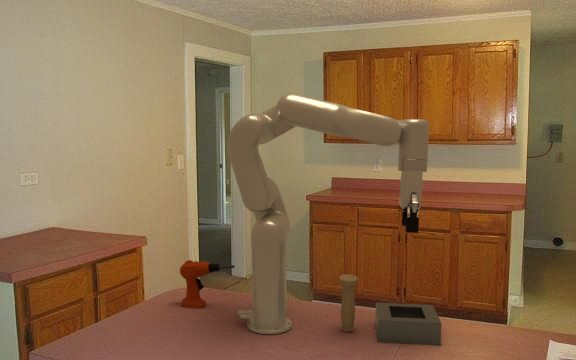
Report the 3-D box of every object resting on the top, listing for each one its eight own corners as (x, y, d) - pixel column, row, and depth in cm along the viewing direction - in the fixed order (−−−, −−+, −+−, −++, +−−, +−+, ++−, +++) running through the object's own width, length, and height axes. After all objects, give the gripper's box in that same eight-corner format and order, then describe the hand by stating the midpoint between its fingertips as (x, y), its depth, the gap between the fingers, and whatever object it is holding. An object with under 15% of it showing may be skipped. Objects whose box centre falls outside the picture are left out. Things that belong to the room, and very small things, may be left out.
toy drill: (236, 307, 156) (230, 259, 155) (180, 309, 160) (174, 262, 159) (241, 301, 160) (235, 255, 159) (186, 304, 165) (180, 259, 164)
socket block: (378, 342, 133) (378, 319, 133) (375, 322, 147) (375, 302, 147) (440, 345, 132) (441, 322, 131) (432, 325, 145) (432, 305, 145)
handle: (338, 334, 138) (339, 280, 137) (338, 325, 145) (339, 274, 143) (356, 335, 138) (357, 281, 137) (355, 326, 144) (356, 274, 143)
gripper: (395, 163, 144) (392, 223, 146) (401, 167, 127) (398, 234, 129) (422, 164, 143) (419, 224, 145) (432, 168, 126) (428, 236, 128)
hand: (409, 229), depth 137 cm, fingers open, 9 cm apart
